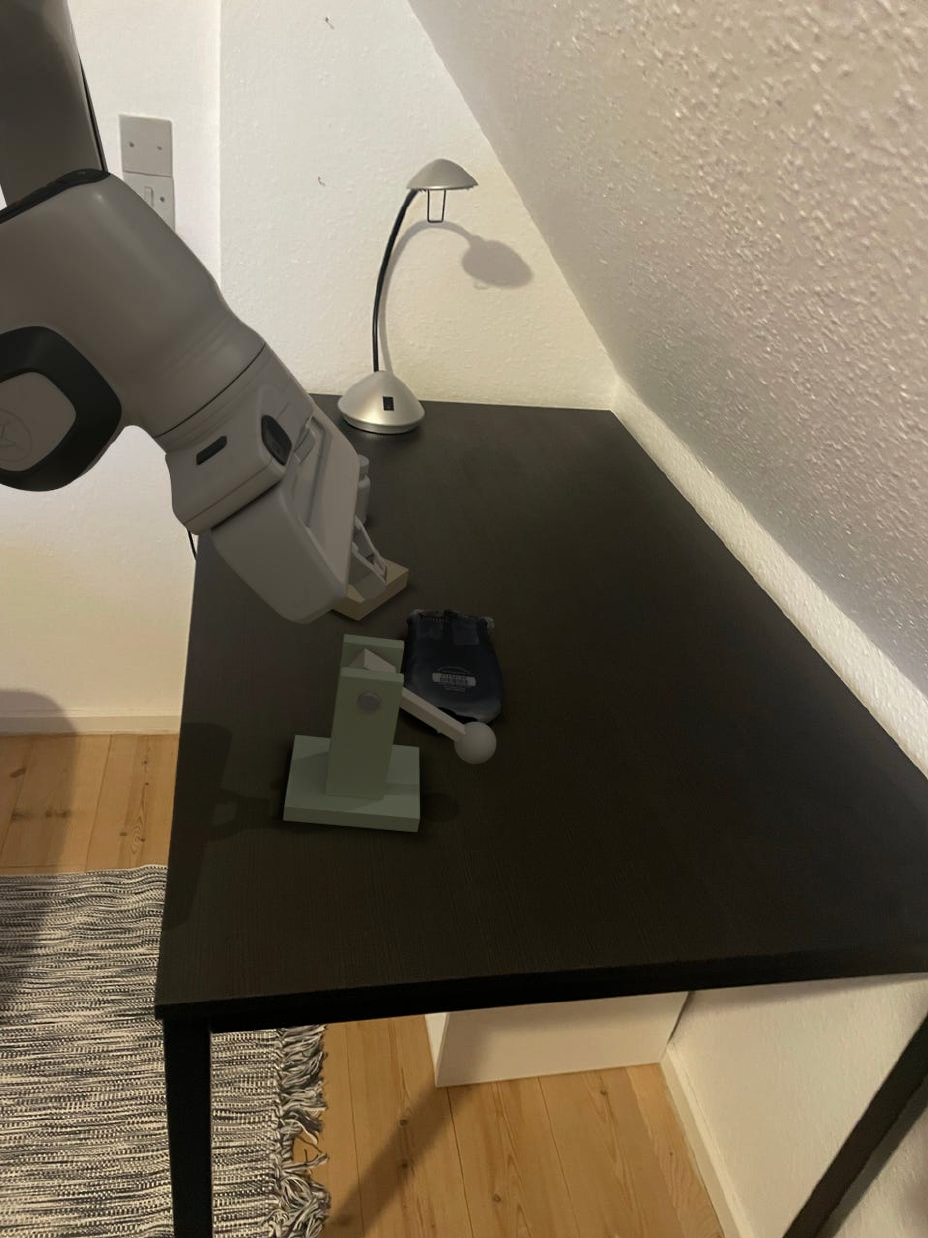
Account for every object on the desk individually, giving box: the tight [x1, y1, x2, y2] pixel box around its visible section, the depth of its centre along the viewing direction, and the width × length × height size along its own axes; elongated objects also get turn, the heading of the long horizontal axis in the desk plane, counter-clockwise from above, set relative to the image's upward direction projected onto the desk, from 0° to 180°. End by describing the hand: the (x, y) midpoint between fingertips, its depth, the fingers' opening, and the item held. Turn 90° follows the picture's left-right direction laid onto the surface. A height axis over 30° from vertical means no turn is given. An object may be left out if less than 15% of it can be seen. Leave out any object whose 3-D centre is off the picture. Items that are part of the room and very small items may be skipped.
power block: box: [332, 546, 410, 622], centre depth 97 cm, size 10×9×4 cm
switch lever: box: [347, 649, 497, 765], centre depth 70 cm, size 13×3×3 cm
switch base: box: [282, 633, 421, 833], centre depth 70 cm, size 10×8×13 cm
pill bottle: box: [355, 453, 371, 525], centre depth 108 cm, size 4×4×8 cm
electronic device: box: [403, 608, 506, 734], centre depth 86 cm, size 9×6×15 cm
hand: (379, 584), depth 64 cm, fingers closed
